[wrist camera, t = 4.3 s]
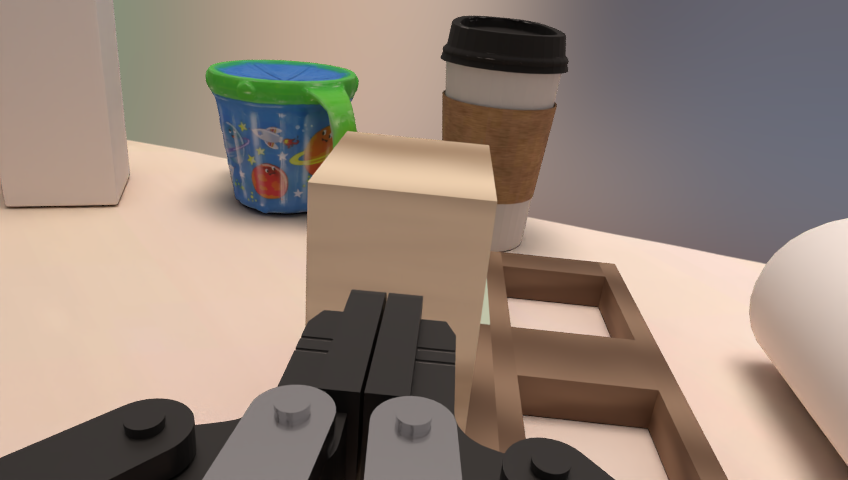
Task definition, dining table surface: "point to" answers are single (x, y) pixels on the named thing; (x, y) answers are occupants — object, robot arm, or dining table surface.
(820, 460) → the dining table surface
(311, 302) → the maple block
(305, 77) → the snack cup
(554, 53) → the coffee cup
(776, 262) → the alcohol
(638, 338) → the brown wooden flat frame
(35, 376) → the dining table surface
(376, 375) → the robot arm
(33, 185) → the milk carton
